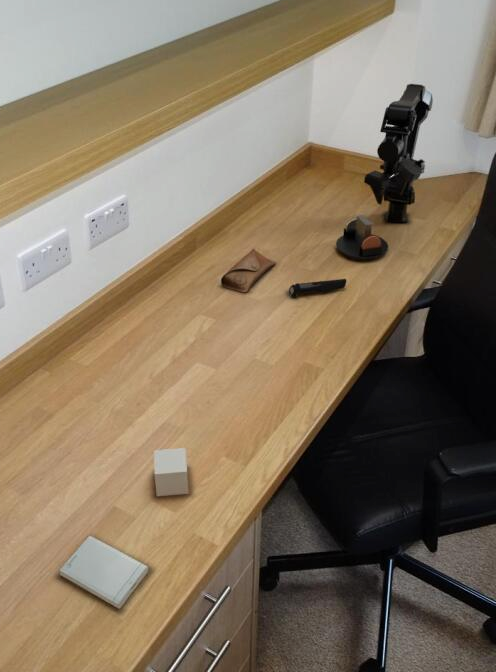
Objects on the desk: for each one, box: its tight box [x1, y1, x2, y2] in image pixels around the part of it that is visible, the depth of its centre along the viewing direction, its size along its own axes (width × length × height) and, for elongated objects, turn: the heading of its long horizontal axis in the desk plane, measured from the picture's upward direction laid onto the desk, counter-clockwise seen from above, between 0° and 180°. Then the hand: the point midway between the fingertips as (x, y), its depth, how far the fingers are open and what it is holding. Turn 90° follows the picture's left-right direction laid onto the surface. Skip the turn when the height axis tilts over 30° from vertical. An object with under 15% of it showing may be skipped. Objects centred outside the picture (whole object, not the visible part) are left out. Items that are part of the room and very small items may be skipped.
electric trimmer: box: [288, 278, 347, 298], centre depth 188 cm, size 4×16×3 cm, turn 100°
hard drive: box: [59, 535, 149, 609], centre depth 118 cm, size 2×8×12 cm
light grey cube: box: [153, 447, 189, 497], centre depth 133 cm, size 6×6×6 cm
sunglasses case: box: [220, 247, 276, 293], centre depth 196 cm, size 18×7×7 cm
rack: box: [335, 214, 389, 260], centre depth 204 cm, size 15×15×9 cm
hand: (389, 199), depth 205 cm, fingers open, 9 cm apart
